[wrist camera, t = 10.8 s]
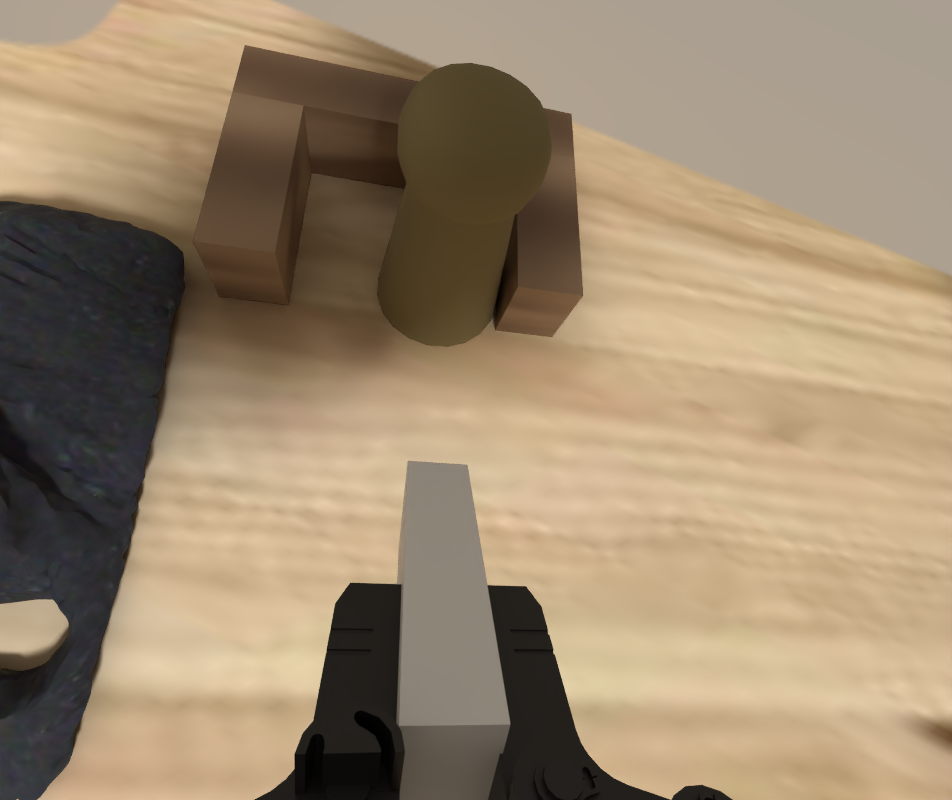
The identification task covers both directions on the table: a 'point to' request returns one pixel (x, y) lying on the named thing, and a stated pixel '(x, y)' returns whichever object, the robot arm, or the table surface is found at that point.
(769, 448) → the table surface
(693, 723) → the table surface
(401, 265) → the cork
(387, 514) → the table surface
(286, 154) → the walnut pocket
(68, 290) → the dark slate chunk
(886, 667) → the table surface
